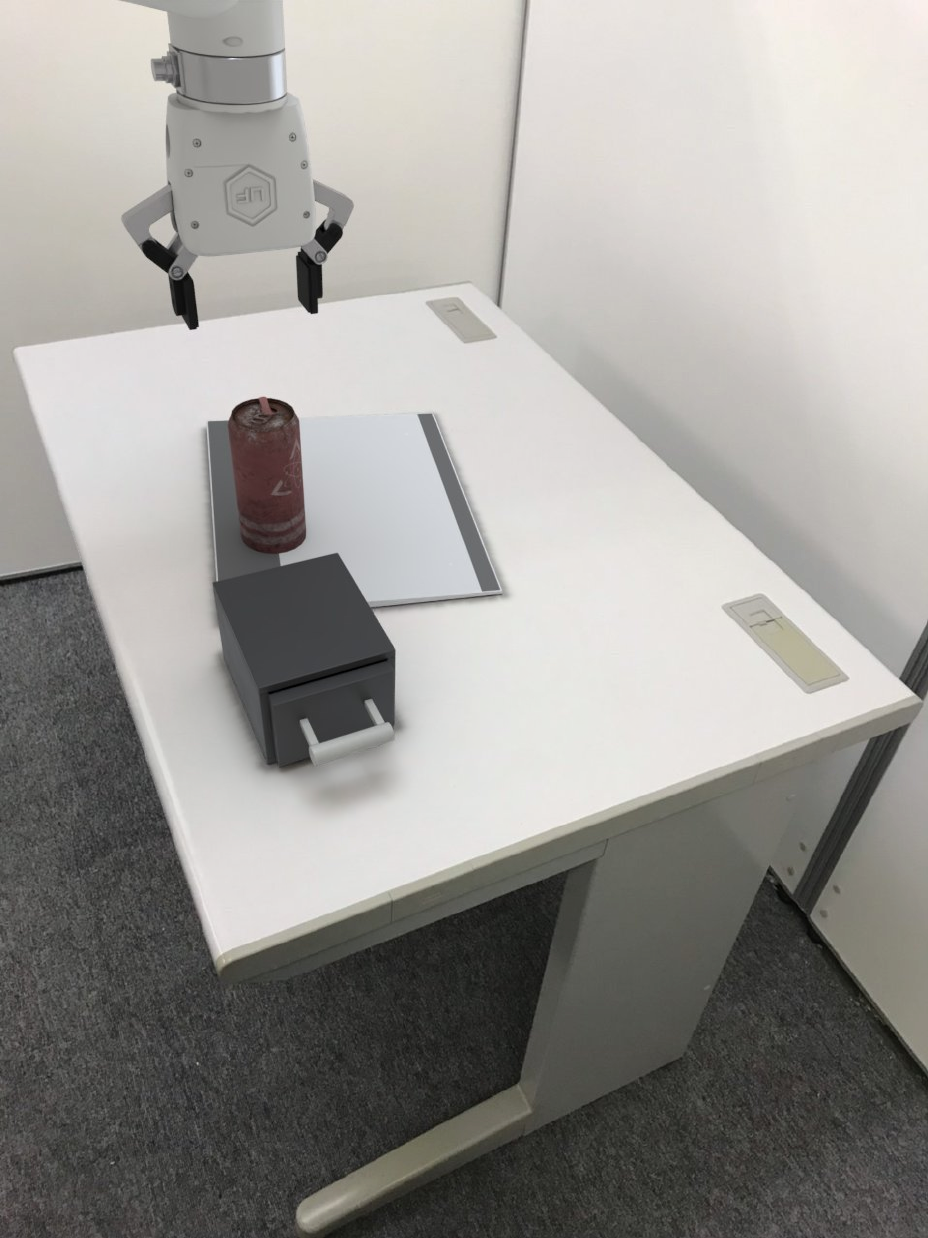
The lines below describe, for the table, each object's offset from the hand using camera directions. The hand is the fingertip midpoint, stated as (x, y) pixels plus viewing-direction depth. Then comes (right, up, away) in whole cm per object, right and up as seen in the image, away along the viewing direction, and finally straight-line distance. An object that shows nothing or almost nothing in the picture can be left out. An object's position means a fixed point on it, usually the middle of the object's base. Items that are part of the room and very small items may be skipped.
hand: (250, 314), depth 77 cm
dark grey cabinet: (+4, -30, +2) cm, 31 cm away
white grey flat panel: (+5, -13, +21) cm, 25 cm away
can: (-1, -17, +16) cm, 23 cm away
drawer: (+6, -32, -1) cm, 33 cm away
